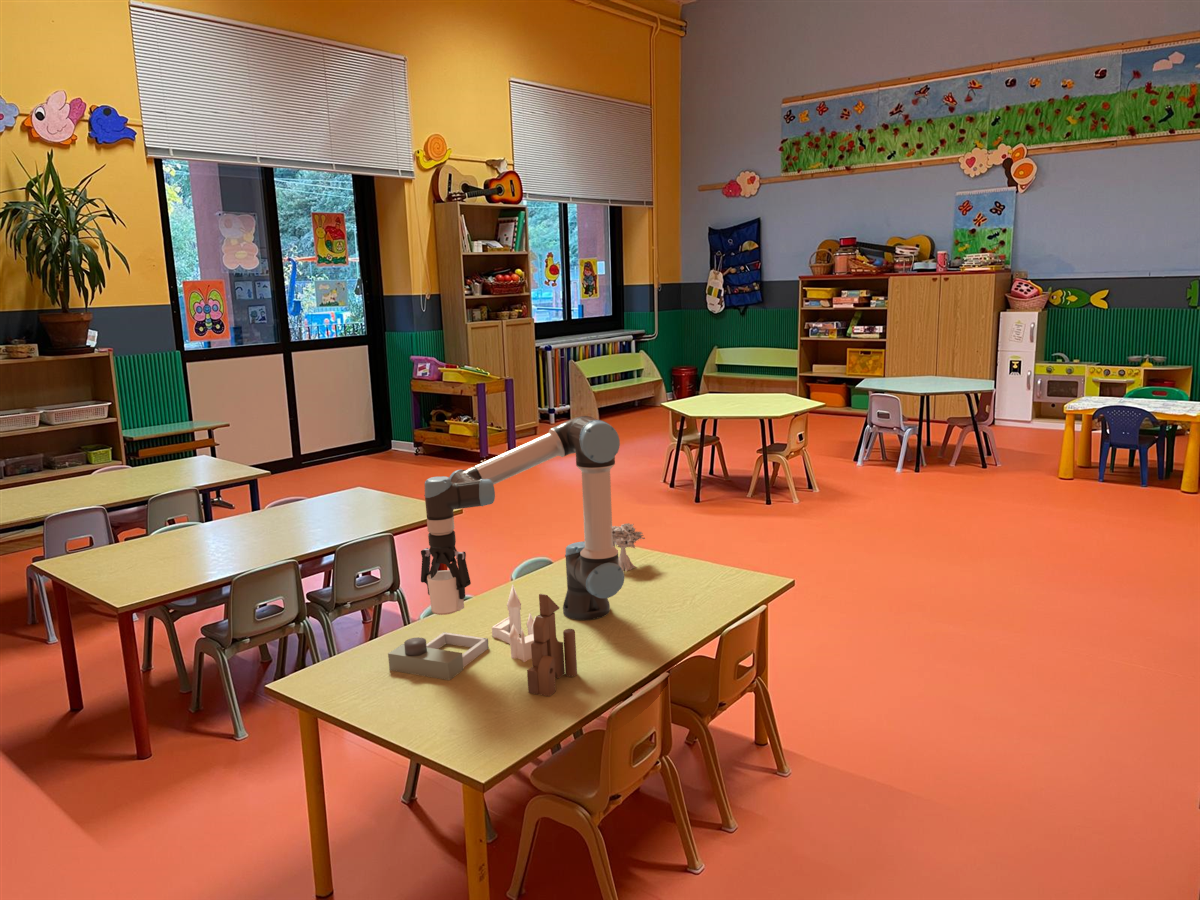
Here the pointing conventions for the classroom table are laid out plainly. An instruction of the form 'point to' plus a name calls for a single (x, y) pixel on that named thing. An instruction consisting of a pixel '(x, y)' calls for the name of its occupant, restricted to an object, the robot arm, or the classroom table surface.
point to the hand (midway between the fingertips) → (447, 607)
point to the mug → (442, 593)
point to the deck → (436, 655)
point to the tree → (625, 543)
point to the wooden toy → (550, 651)
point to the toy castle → (515, 629)
